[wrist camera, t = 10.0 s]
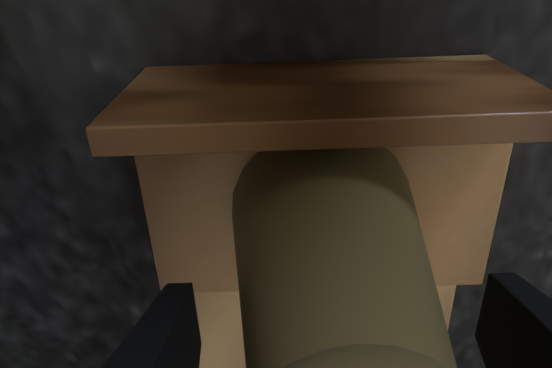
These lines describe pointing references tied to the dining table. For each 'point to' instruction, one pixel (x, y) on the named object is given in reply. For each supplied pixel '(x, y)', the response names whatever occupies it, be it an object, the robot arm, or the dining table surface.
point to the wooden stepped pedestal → (315, 136)
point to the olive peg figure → (334, 264)
